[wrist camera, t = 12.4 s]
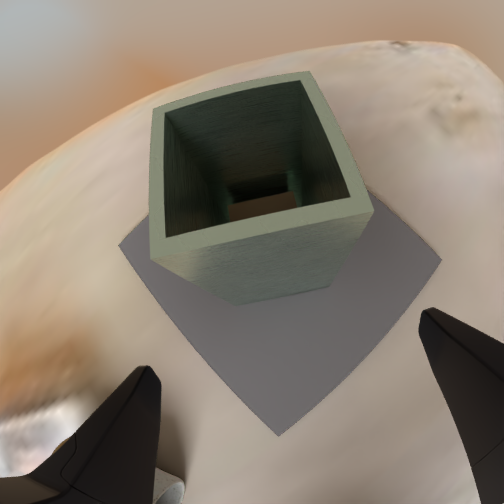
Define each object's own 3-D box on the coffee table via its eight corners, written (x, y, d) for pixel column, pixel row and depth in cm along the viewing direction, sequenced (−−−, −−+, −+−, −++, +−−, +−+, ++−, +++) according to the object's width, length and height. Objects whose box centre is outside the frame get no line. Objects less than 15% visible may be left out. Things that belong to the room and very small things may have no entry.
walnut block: (306, 270, 17) (309, 254, 14) (249, 282, 17) (237, 269, 14) (294, 218, 18) (293, 191, 15) (240, 229, 19) (227, 205, 15)
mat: (439, 261, 17) (442, 259, 16) (279, 433, 15) (278, 436, 15) (265, 120, 22) (264, 116, 22) (121, 247, 21) (118, 245, 20)
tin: (329, 286, 17) (374, 210, 7) (235, 306, 18) (150, 259, 7) (307, 202, 19) (309, 71, 9) (222, 220, 20) (153, 108, 9)
